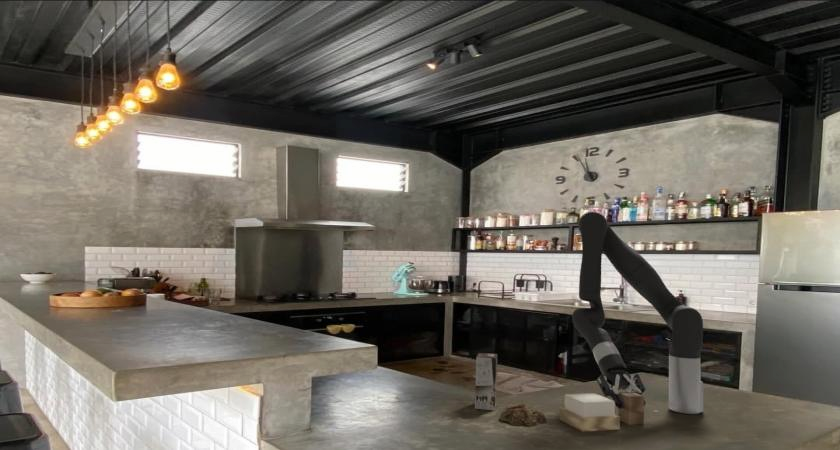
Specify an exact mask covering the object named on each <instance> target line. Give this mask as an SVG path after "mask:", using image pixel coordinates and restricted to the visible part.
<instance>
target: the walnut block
mask: <svg viewBox="0 0 840 450" xmlns="http://www.w3.org/2000/svg"><path fill="white" fill-rule="evenodd" d="M618 394H619V396H620V398H621V400H622V402H623V404H624V406H623V408H622V409H618V416H620V422H622V423H625V424H627V425H629V426H630V425H631V426H632V425H645V406H644V400H645V396H644V395H643V394H642V395H640V394H637V393H634V392H628V391H625V392H618Z"/></svg>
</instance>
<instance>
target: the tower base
mask: <svg viewBox="0 0 840 450" xmlns="http://www.w3.org/2000/svg"><path fill="white" fill-rule="evenodd" d="M559 420H560V421H562V422H563V423H566V424H567V425H569V426H571V427H573V428H575V429H577V430H579V431H580V432H583V433H584V432H597V431H598V430H599V431H613V430H620V429H621V426H620V425H621V424H620V423H621V421H620V416H619V415H617V414H615V416H601V417H582V416H580V415H578V414H576V413H574V412H572V411H569V410H567V409H565V406H564V407H559ZM599 431H598V432H599Z"/></svg>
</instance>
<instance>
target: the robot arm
mask: <svg viewBox="0 0 840 450" xmlns="http://www.w3.org/2000/svg"><path fill="white" fill-rule="evenodd" d="M577 227H578V230H579V232H580V237H581V238H580V239H581V245H582V246H581V247H582V248H581V249H582V250H581V251H582V253H581V254H582V255H581V263H580V264H581V265H580V271H579V282H578V284H579V285H578V298H579V300H581V301H584V302H588V303H589V305H590V306H589V307H580V308H577V309H575V310H574V311H573V312H572V317H571V319H572V324H573V326H574V327H575V329H576V330H577V332H578V333H579V334H580V335H581V336H582V337H583V339H584V340H585V341H587V343H588V345H589V347H590V349H591V351H592V354H593V357H594V359H595V362H596V364H597V365H598V366H597V367H598V368H599V370H600V373H601V374H600V375H599V377H597V379H596V382H597V384H598V386H599V387H600V389H601V392H602V393H603V396H604V397H605V398H607V397H610V398H611V400H613V401H615V407H616V408H617V409H618V410H619V409H622V408H623V406H624V404H623V402H622V400H621V398H620V396H619V390H625V391H626V392H634V393H637V394H640V395H642V396H643V393H645V391H646V388H645V385H644V383H643V381H642V378H641V377H640V375H639V373H636V374H634V375H631V374H630V373H629V372H628V370H627V366H626V364H625V362H624V360H623V358H622V356H621V354H620V352H619V349H618V348H617V347H616V345H615V344H614V342H613V340H612V338H611V336H610V334H609V333H608V331H607V330H605V329H603V328H602V327H603V326H604V325H605V321H606V316H605V315H606V314H605V311H604V310H605V309H604V307H603V301H602V297H601V293H602V256H603V255H602V254H604V255H605V257H606V258H607V259H608V261H609V262H610V263H611V265H612V266H613V267H614V269H615V270H616V271H617V273H619V275H620V276H621V277H622V278H623V279H624V281H625V282H627V284H629V286H630V287H632V288H633V289H634V290H635V292H637V293H638V294H639V295H640V296H641V297H642V298H644V299H645V300H646V301H647V302H648V303H649V304H650V305H651V306H652V307H653V308H654V309H655V310H656V312H657V313H658V314H659V315H660V316H661V318H662V319H663V321H664V322H665V323H666V324H667V326H668V327H669V328H670V330H671V342H670V343H671V344H670V346H669V347H668V409H669V410H670V411H673V412H676V413H680V414H687V415H698V414H700V413H704V382H703V381H702V380H701V352H702V350H703V345H704V344H703V340H704V321H703V317H702V315H701V313H700V312H699V311H698V310H697V309H695V308H693V307H691V306H687V305H685V304H684V303H683V302H682V301H681V300H680V299H678V298H677V297H676V296H675V295H674V294H673V293H672V292H671V291H670V290H669V289H668V287H667V286H666V284H665V283H664V282H663V280H662V278H661V277H660V275H659V274H658V272H657V271H656V270H655V268H654V267H653V266H652V265H651V264H650V263H649V262H648V260H646V259H645V257H643V256H642V255H641V254H640V253H638V251H637V250H635V249H634V248H633V247H632V246H630V245H629V244H628V243H626V241H624V240H622V239H621V238H620V237H619V236H618V234H616V232H615V231H614V230H613V229H612V228H611V226H610V225H609V224H608V221H607V218H606V217H605V216H604V214H602V213H600V212H599V211H593V210H592V211H587V212H585V213H583V214H581V216H580V217H579V220H578V225H577ZM645 406H646V400H645V399H644V407H645Z"/></svg>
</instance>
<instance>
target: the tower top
mask: <svg viewBox="0 0 840 450" xmlns="http://www.w3.org/2000/svg"><path fill="white" fill-rule="evenodd" d="M564 407H565V409H567V410H569V411H572V412H574V413H576V414H578V415H580V416H582V417H601V416H615V415H616V413H615V411H616V410H615V409H616V405H615V401H613V399H610V398H609V397H608V398H607V397H606V396H604V395H603V396H602V395H600V394H597V393H595V392H591V393H566V394H564Z"/></svg>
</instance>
